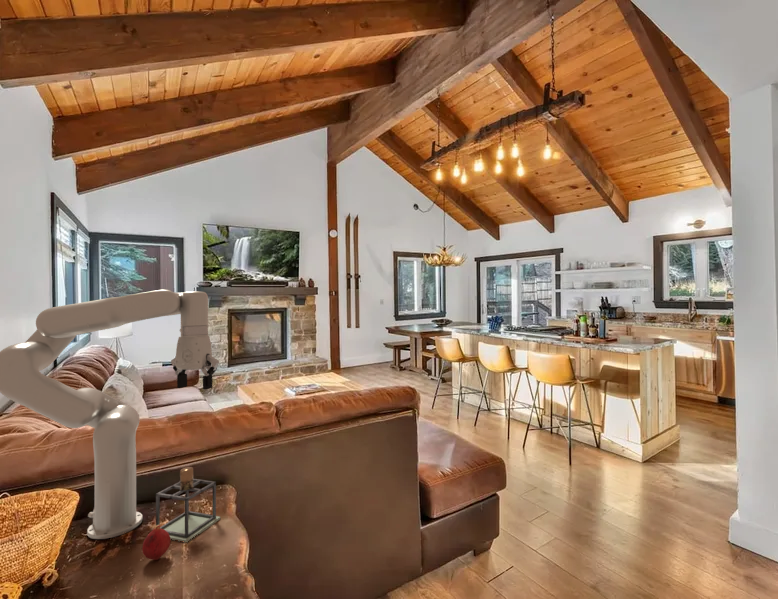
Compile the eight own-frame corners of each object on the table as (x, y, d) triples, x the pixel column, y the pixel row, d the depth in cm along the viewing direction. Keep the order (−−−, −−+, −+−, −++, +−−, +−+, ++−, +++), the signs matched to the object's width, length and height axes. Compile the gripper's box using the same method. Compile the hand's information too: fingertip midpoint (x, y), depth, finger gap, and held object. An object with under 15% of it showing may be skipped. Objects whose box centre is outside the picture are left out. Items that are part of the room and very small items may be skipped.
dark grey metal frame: (155, 532, 104) (155, 474, 104) (187, 512, 114) (187, 460, 114) (186, 538, 101) (186, 479, 101) (215, 517, 111) (215, 464, 111)
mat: (151, 535, 103) (151, 533, 103) (187, 513, 115) (187, 511, 115) (186, 542, 100) (186, 540, 100) (220, 518, 111) (220, 516, 111)
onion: (157, 569, 90) (157, 533, 90) (136, 566, 91) (136, 531, 91) (175, 553, 95) (175, 520, 96) (155, 551, 96) (155, 518, 97)
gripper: (162, 332, 118) (162, 389, 117) (208, 332, 113) (208, 391, 112) (182, 331, 125) (182, 384, 124) (226, 331, 120) (226, 386, 119)
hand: (194, 388), depth 118 cm, fingers open, 9 cm apart
